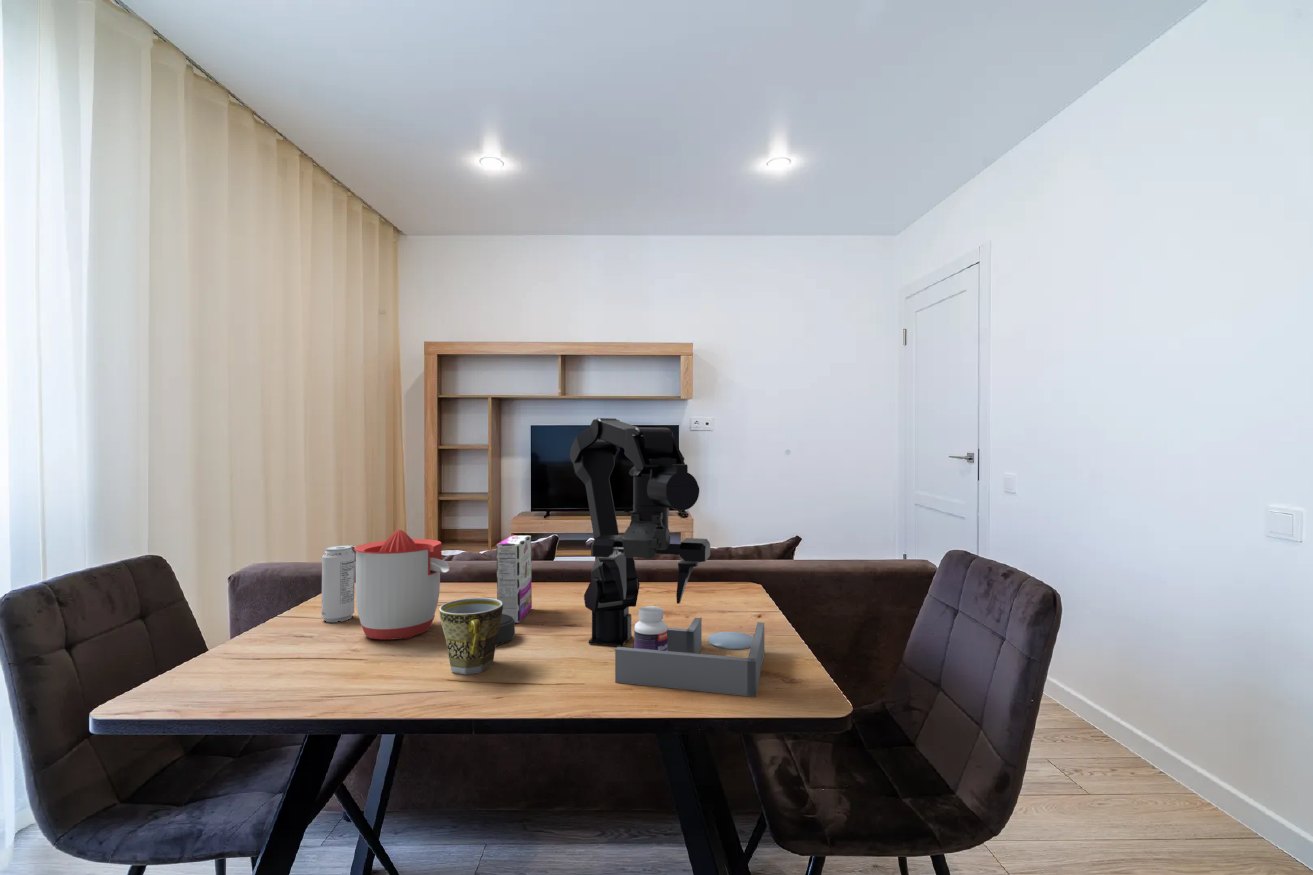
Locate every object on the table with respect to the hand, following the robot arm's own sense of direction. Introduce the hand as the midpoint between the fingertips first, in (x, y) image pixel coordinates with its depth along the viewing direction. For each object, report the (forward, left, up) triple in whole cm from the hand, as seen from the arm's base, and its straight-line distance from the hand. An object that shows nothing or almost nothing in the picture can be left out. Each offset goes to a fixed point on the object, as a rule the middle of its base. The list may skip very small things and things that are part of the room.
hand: (650, 601), depth 93 cm
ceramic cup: (-28, -7, -11) cm, 31 cm away
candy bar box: (-36, +22, -11) cm, 44 cm away
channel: (+6, +4, -11) cm, 13 cm away
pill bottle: (0, 0, -11) cm, 11 cm away
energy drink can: (-71, +11, -11) cm, 73 cm away
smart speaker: (-33, +7, -11) cm, 36 cm away
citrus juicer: (-52, +7, -11) cm, 54 cm away
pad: (+11, +17, -11) cm, 23 cm away
